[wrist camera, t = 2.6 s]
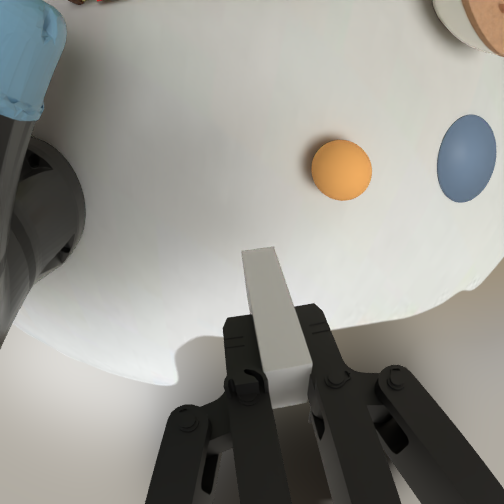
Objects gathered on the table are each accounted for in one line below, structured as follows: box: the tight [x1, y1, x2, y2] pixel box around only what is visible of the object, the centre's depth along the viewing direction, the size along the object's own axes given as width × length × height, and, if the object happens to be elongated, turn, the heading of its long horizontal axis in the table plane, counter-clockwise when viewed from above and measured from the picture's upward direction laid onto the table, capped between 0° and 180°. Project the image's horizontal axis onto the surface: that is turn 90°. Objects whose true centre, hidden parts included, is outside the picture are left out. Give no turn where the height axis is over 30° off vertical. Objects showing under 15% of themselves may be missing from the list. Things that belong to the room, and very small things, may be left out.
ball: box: [311, 140, 372, 201], centre depth 25 cm, size 6×6×6 cm
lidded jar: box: [432, 0, 504, 57], centre depth 14 cm, size 11×11×9 cm
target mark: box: [437, 115, 496, 202], centre depth 29 cm, size 12×12×1 cm
